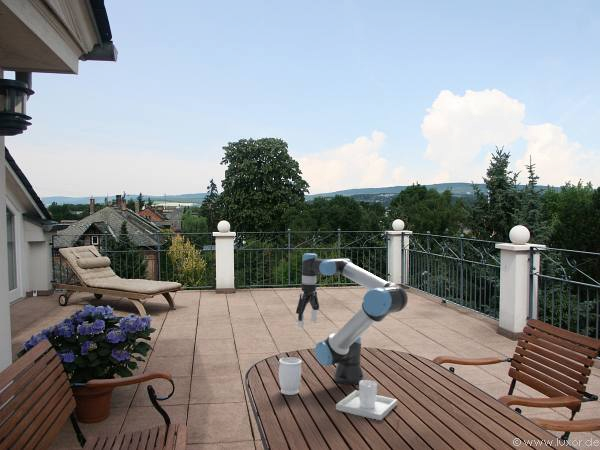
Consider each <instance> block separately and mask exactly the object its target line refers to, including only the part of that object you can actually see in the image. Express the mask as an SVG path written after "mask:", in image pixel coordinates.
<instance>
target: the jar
mask: <svg viewBox="0 0 600 450" xmlns="http://www.w3.org/2000/svg"><path fill="white" fill-rule="evenodd" d="M278 363H279V368H278V380H279V386H280V388H281V389H280V393H281V394H283V395H286V396H294V395H297V394H299V388H300V385H301V380H302V365H301V364H302V359H301V358H298V357H294V356H293V357H290V356H289V357H282V358H280V359H279V360H278Z"/></svg>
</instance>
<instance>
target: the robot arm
mask: <svg viewBox="0 0 600 450" xmlns="http://www.w3.org/2000/svg"><path fill="white" fill-rule="evenodd" d="M301 262H302V267H301V268H302V269H301V272H302V273H301V288H300V289H301V291H302V293H303V294H302V293H299V299H298V303H297V307H296V311H295V314H297V316H298V317H297V319H298V320H297V327H298V328H304V321H305V314H304V311H305V309H306V307H307V304H310V306H311V308H312V309H311V311H310V312H311V315H310V316H311V317H310V322H311V323H315V324H316V323H317V312H318V311H319V309H320V305H319V299H318V292H317V274H319V275H324V276H333V275H334V274H335V275H336V274H340V275H342V276H343V277H345V278H347V279H348V280H351V281H353V282H354V283H356V284H358V285H360V286H362V287H363V288H365V289H367V292H366V293H365V294H364V295H363V298H362V299H363V301H362V303H361V308H360V309H358V311H357V312H356V313H355V314H354V315H353V316H352V317H351V318H350V319H349V320H348V321H347V322H346V323H345V324H344V325H343V326H342V327H341V328H340V329H339V330H338V331H337V332H334V333H331V334H329V336H328V337H326V339H325V340H321V341H319V342H317V343H316V344H315V347H314V352H315V358H316V360H317V361H318V363H319V364H320V365H322V366H325V367H328V366H332V365H335V364H337V365H336V367H335V370H334V371H333V372H334V373H333V381H335V382H337V383H338V384H342V385H359V382H360V381H362V380H365V379H364V377H365V376H364V372H363V370H362V369H363V368H362V366H361V361H362V360H361V357H362V355H361V353H362V339H361V336H362V335H363V334H365V332H366V331H368V329H370V328H371V327H372V326H373V324H374V323H377V322H378V323H379V322H382V321H383V320H384V319H385V318H386V317H387V316H388V315H390V314H393V313H399V312H401V311H402V310H403V309H405V308H406V306H408V300H409V299H408V293H407V292H406V290H405V288H403V287H401V286H400V285H398V284H397V283H395V282H393V281H386V280H385V279H382V278H380V277H378V276H376V275H374V274H373V273H371V272H369V271H367V270H365V269H363V268H361V267H359V266H357V265H355V264H354V263H353V262H352V260H351V259H349V258H345V257H341V258H328V259H327V258H325V259H324V258H319V257H318V254H317V253H312V252H311V253H303V255H302V260H301Z"/></svg>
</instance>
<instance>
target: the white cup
mask: <svg viewBox="0 0 600 450" xmlns="http://www.w3.org/2000/svg"><path fill="white" fill-rule="evenodd" d="M358 391H359V399H360V406H361V407H362V408H366V409H372V408H375V403H376V395H378V393H377V392H378V383H377V381H375V380H370V379H363V380H362V381H360V382H359V384H358Z"/></svg>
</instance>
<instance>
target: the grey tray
mask: <svg viewBox="0 0 600 450" xmlns="http://www.w3.org/2000/svg"><path fill="white" fill-rule="evenodd" d="M396 405H397V406H398V399H396V398H392V397H388V396H383V395H378V394H377V395H376V403H375V408H372V409H366V408H362V407H361V406H360V399H359V390H357V389H355V390H354V391H352V392H351V393H349V394H348V395H347V396H345V397H344V398H343V399H341V400H340V401H338V402H337V403H336V404H335V410H336V411H338V412H339V411H340V412H343V413H347V414H352V415H355V416H358V417H362V418H367V419H370V418H372V419H371V420H374V419H376V420H375V421H378V420H380V421H379V422H381V421H383V420H384V418H385V417H386V416H387V415H389V414H390V413H391V412H392V411H393V410H394V409H393V408H394V407H395V406H396ZM397 406H396V407H397ZM396 407H395V408H396ZM392 409H393V410H392ZM391 410H392V411H391ZM390 411H391V412H390ZM389 412H390V413H389Z"/></svg>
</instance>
